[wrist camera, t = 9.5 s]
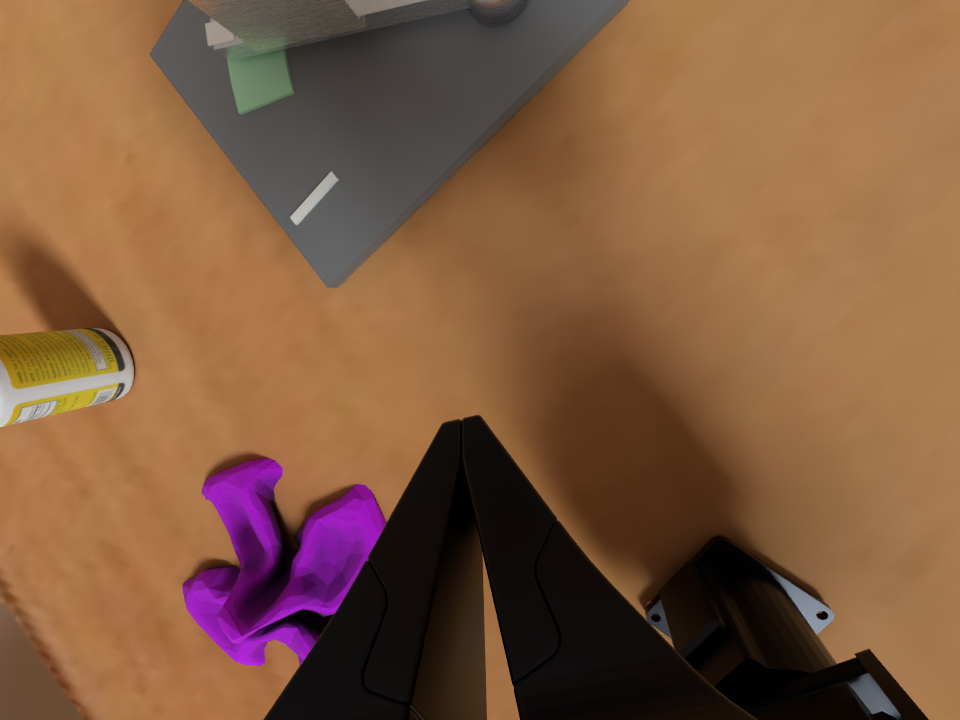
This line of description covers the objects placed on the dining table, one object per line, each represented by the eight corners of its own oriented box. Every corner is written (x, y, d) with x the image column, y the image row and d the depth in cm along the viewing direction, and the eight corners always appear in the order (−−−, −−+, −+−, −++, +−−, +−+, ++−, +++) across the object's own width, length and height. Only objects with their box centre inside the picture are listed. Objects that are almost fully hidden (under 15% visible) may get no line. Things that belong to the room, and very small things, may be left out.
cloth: (190, 633, 33) (106, 708, 27) (186, 426, 29) (86, 461, 23) (441, 732, 28) (405, 850, 22) (475, 503, 24) (442, 571, 18)
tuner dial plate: (395, -296, 18) (382, -337, 16) (627, 2, 17) (631, -18, 16) (164, 61, 23) (143, 49, 22) (337, 287, 23) (325, 287, 22)
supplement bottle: (83, 317, 29) (-157, 330, 19) (140, 340, 28) (-82, 366, 18) (80, 384, 30) (-147, 427, 21) (135, 409, 29) (-76, 466, 20)
